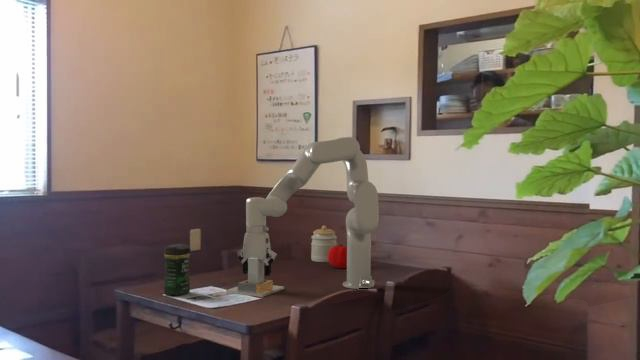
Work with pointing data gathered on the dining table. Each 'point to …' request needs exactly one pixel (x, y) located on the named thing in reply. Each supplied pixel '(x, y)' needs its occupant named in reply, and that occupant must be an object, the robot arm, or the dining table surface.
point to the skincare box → (255, 271)
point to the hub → (255, 288)
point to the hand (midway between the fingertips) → (256, 274)
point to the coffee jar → (177, 269)
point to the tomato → (338, 256)
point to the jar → (322, 244)
